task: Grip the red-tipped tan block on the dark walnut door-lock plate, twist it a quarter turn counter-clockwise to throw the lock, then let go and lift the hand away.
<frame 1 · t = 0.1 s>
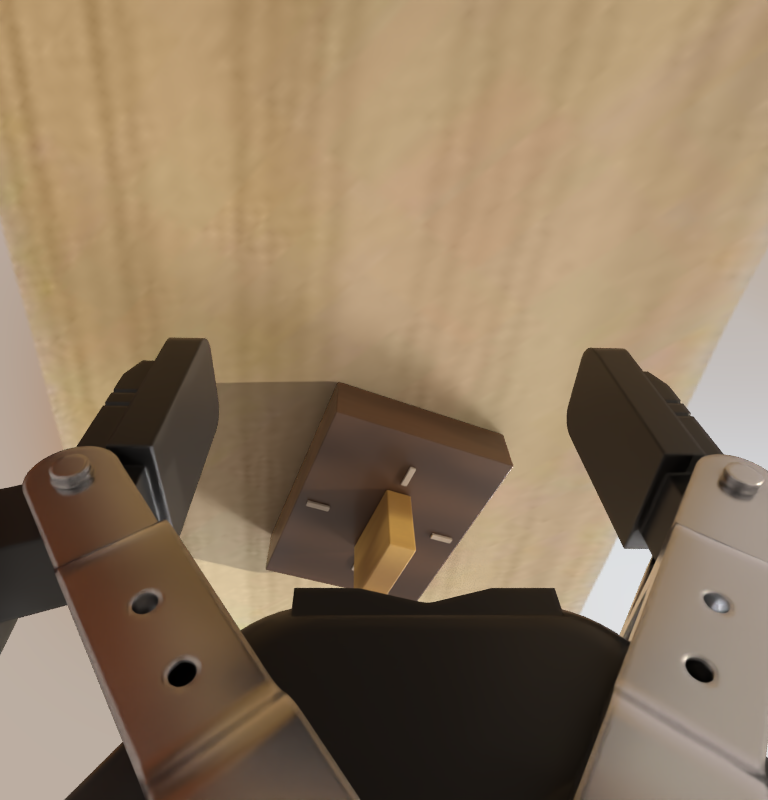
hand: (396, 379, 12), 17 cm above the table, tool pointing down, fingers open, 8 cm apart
red-tipped tan block: (382, 550, 33), point 5 cm above the table, hinge at 0.0°
lock plate: (380, 488, 38), on the table
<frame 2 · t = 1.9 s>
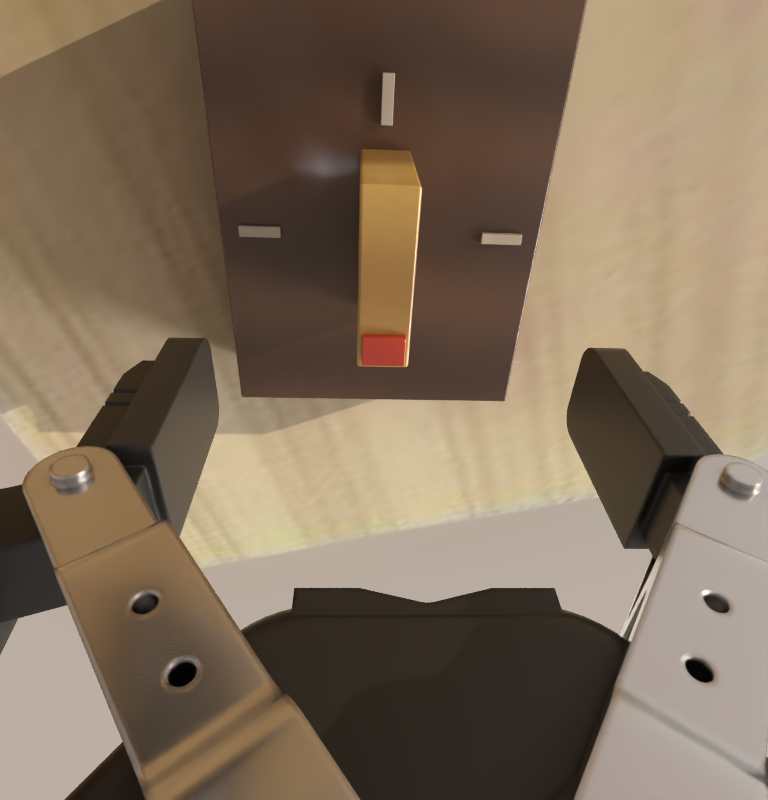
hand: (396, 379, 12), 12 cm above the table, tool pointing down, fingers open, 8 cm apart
red-tipped tan block: (384, 259, 18), point 5 cm above the table, hinge at 0.0°
lock plate: (379, 208, 22), on the table
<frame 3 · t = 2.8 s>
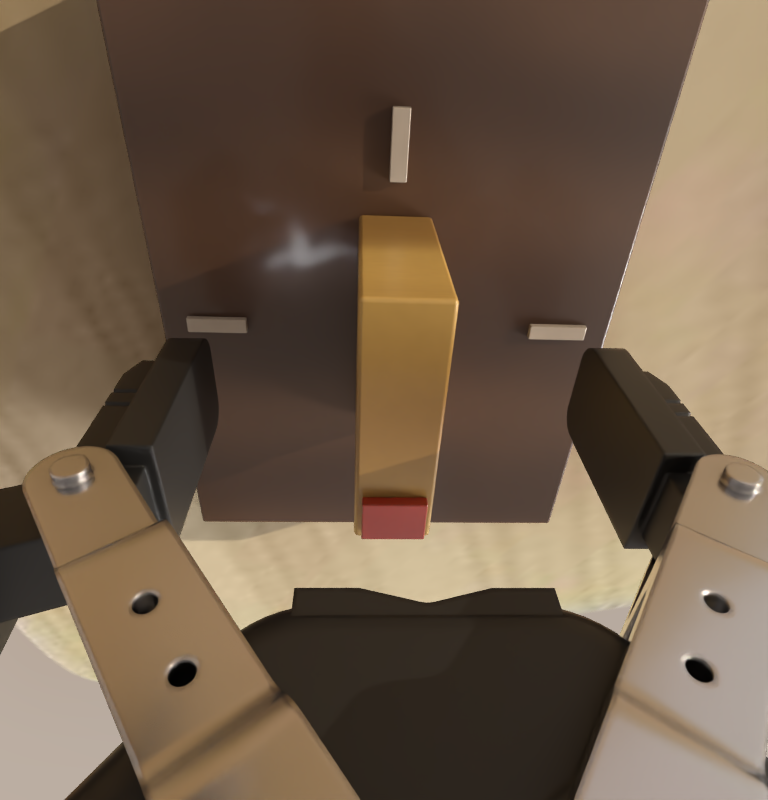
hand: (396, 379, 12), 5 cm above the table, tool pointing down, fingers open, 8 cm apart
red-tipped tan block: (394, 377, 12), point 5 cm above the table, hinge at 0.0°
lock plate: (385, 277, 16), on the table
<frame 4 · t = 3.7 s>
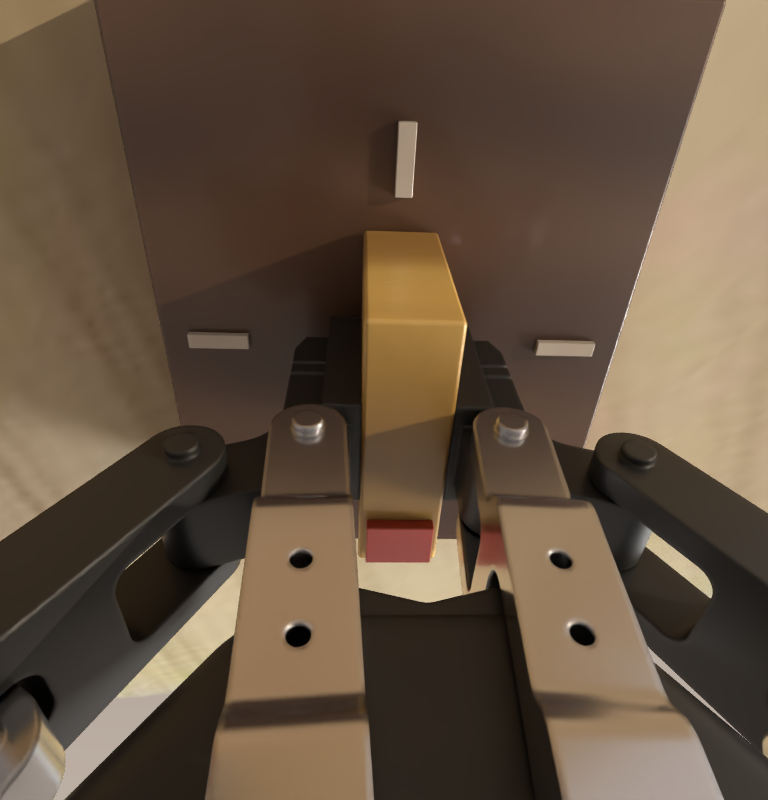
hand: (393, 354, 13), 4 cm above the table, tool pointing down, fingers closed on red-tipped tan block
red-tipped tan block: (399, 396, 12), point 5 cm above the table, hinge at 0.0°, touching gripper
lock plate: (389, 291, 16), on the table
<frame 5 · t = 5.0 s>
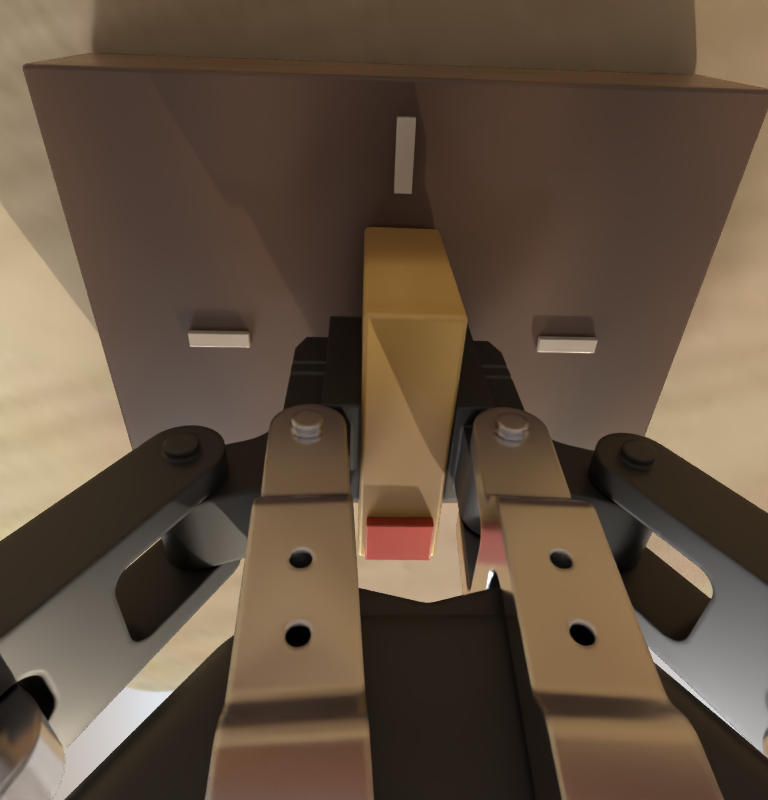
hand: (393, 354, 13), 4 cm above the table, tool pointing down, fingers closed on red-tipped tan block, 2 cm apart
red-tipped tan block: (399, 393, 12), point 5 cm above the table, hinge at 89.4°, touching gripper
lock plate: (390, 289, 16), on the table
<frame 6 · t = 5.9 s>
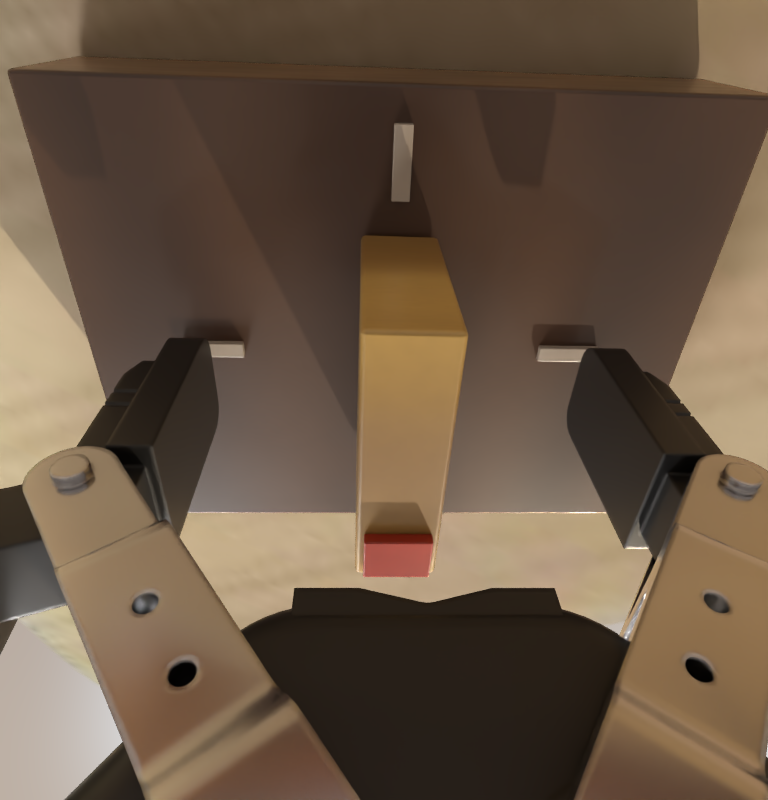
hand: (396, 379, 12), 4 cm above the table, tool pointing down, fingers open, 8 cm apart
red-tipped tan block: (397, 405, 11), point 5 cm above the table, hinge at 89.4°
lock plate: (387, 295, 16), on the table
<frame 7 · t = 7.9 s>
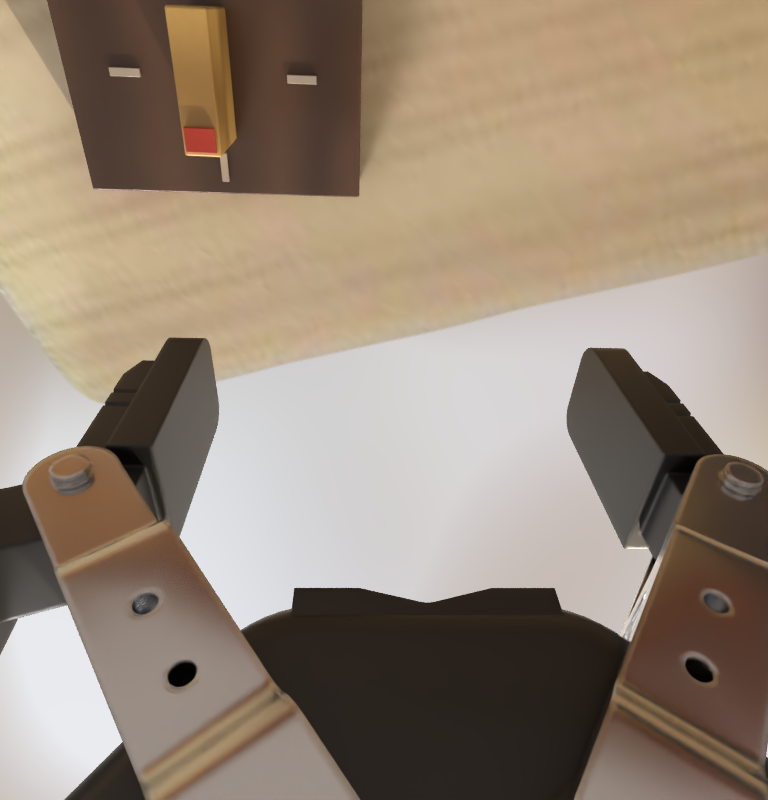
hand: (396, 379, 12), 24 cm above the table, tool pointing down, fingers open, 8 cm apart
red-tipped tan block: (204, 81, 25), point 5 cm above the table, hinge at 89.4°
lock plate: (225, 69, 29), on the table
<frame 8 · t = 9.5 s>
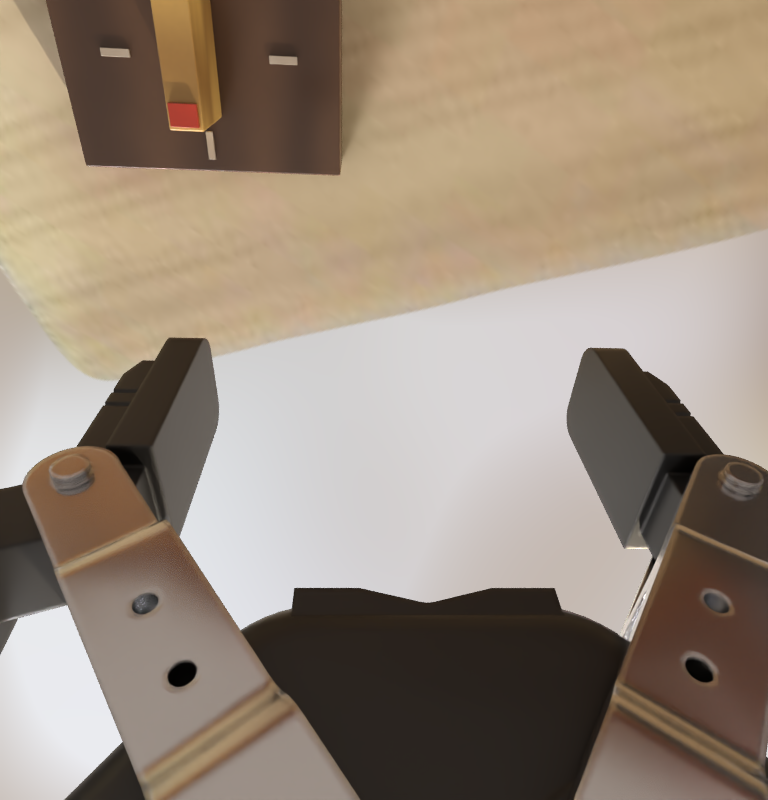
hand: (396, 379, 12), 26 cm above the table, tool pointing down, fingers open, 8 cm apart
red-tipped tan block: (188, 59, 26), point 5 cm above the table, hinge at 89.4°
lock plate: (213, 52, 31), on the table
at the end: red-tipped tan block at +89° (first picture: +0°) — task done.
